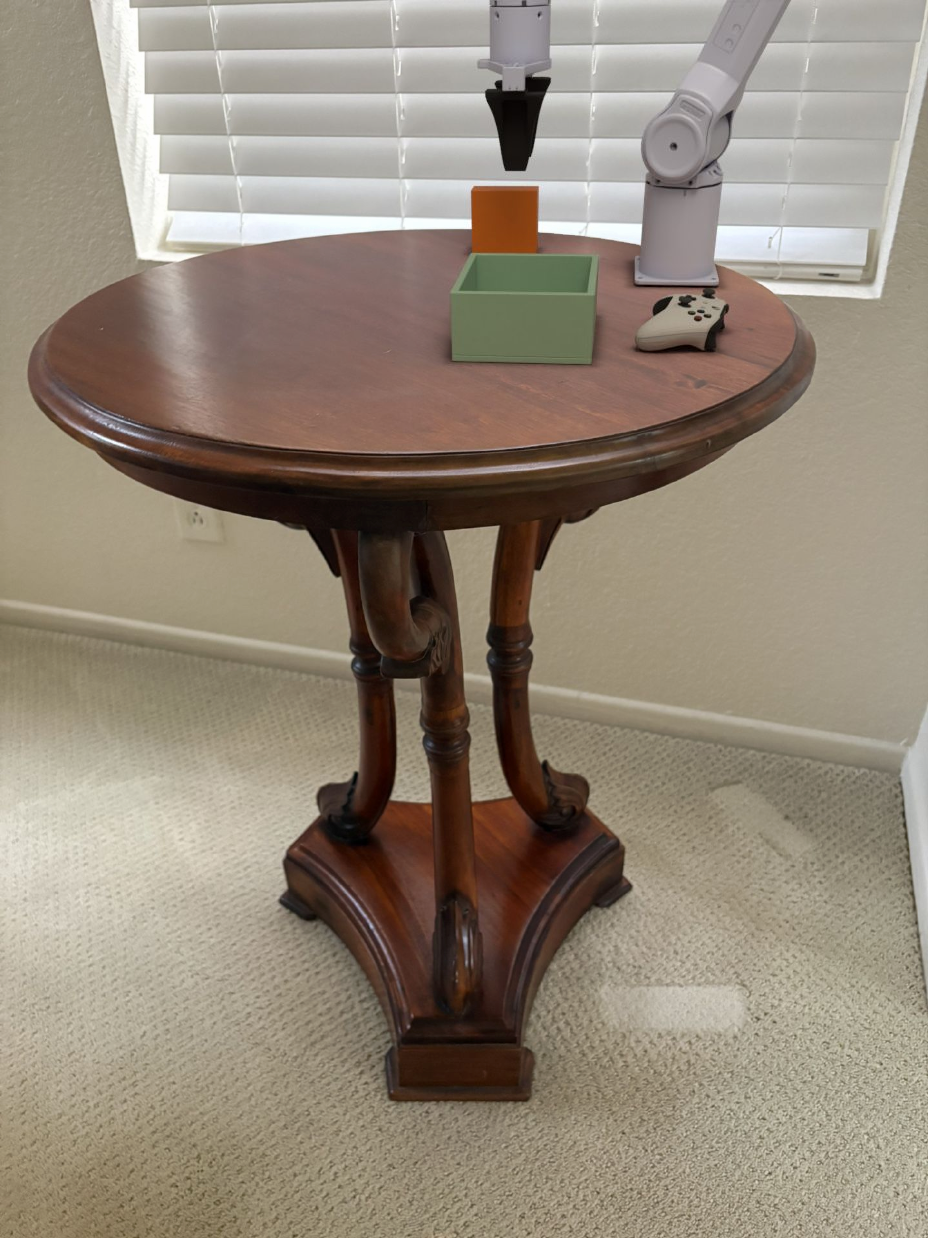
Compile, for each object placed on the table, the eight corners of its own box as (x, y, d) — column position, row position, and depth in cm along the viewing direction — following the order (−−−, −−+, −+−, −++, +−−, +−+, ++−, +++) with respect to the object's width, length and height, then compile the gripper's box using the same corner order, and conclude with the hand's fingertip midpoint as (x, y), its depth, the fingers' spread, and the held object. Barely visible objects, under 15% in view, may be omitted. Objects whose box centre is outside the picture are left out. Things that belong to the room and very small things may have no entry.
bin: (472, 315, 91) (470, 252, 88) (596, 317, 90) (599, 253, 87) (452, 361, 81) (449, 292, 78) (591, 364, 80) (594, 294, 77)
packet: (474, 248, 111) (473, 185, 108) (537, 248, 111) (538, 185, 107) (471, 253, 109) (470, 190, 106) (536, 254, 109) (537, 190, 105)
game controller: (649, 306, 89) (703, 259, 85) (688, 351, 90) (743, 308, 86) (627, 340, 81) (685, 291, 78) (669, 390, 82) (729, 343, 79)
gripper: (485, 1, 100) (486, 150, 108) (468, 10, 88) (470, 177, 96) (556, 0, 99) (552, 150, 107) (548, 9, 87) (544, 177, 95)
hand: (518, 163), depth 101 cm, fingers open, 7 cm apart
